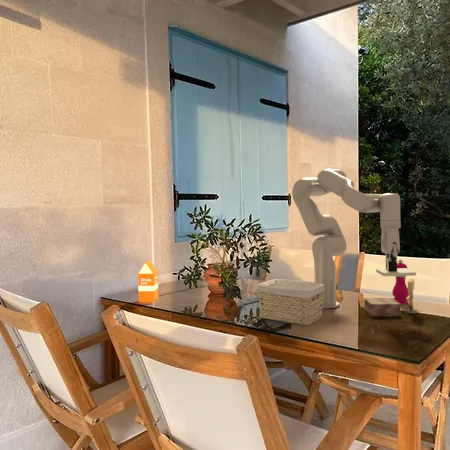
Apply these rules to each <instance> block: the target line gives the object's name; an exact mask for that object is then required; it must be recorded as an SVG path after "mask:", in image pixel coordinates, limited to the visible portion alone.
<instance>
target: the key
mask: <svg viewBox="0 0 450 450" xmlns="http://www.w3.org/2000/svg"><path fill="white" fill-rule="evenodd" d="M407 288H408V292H409V295H408V297H407V301H408V309H409V310H413V309H414V290H415V279H414V278H410V279H409V280H408V281H407Z"/></svg>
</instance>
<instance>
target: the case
mask: <svg viewBox="0 0 450 450" xmlns="http://www.w3.org/2000/svg"><path fill="white" fill-rule="evenodd" d="M363 301H364V304H363V305H364V307H363V310H364V311H365V312H366V313H367V315H369V317H402V314H401V304H400V303H398V302H397V301H396V300H395V299H394V297H364V300H363Z"/></svg>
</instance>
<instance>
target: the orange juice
mask: <svg viewBox="0 0 450 450" xmlns="http://www.w3.org/2000/svg"><path fill="white" fill-rule="evenodd" d="M158 273H159V272H158V269H156V267H155V266H154V264H153V263H152V262H151V260H148V261H145V262H144V263H143V266H142V267H141V269H140V270H139V272H138V273H137V278H138V279H137V281H138V283H137V284H138V285H137V287H138V289H137V290H138V303H139V302H154V301H155V300H156V299H157V298H158V299H159V277H158Z"/></svg>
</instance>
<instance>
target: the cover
mask: <svg viewBox="0 0 450 450" xmlns="http://www.w3.org/2000/svg"><path fill="white" fill-rule="evenodd" d="M386 261H387V270H386V268H375V269H376V273H377V274H379V275H381V276H383V277H395V276H406V277H407V276H408V277H409V276H410V277H411V276H415V277H416V276H417V272H416V271H414V270H411V269H409V268H408V267H407V268H397V271H395V272H389V268H388V261H389V258H386V257H385V262H386Z"/></svg>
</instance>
